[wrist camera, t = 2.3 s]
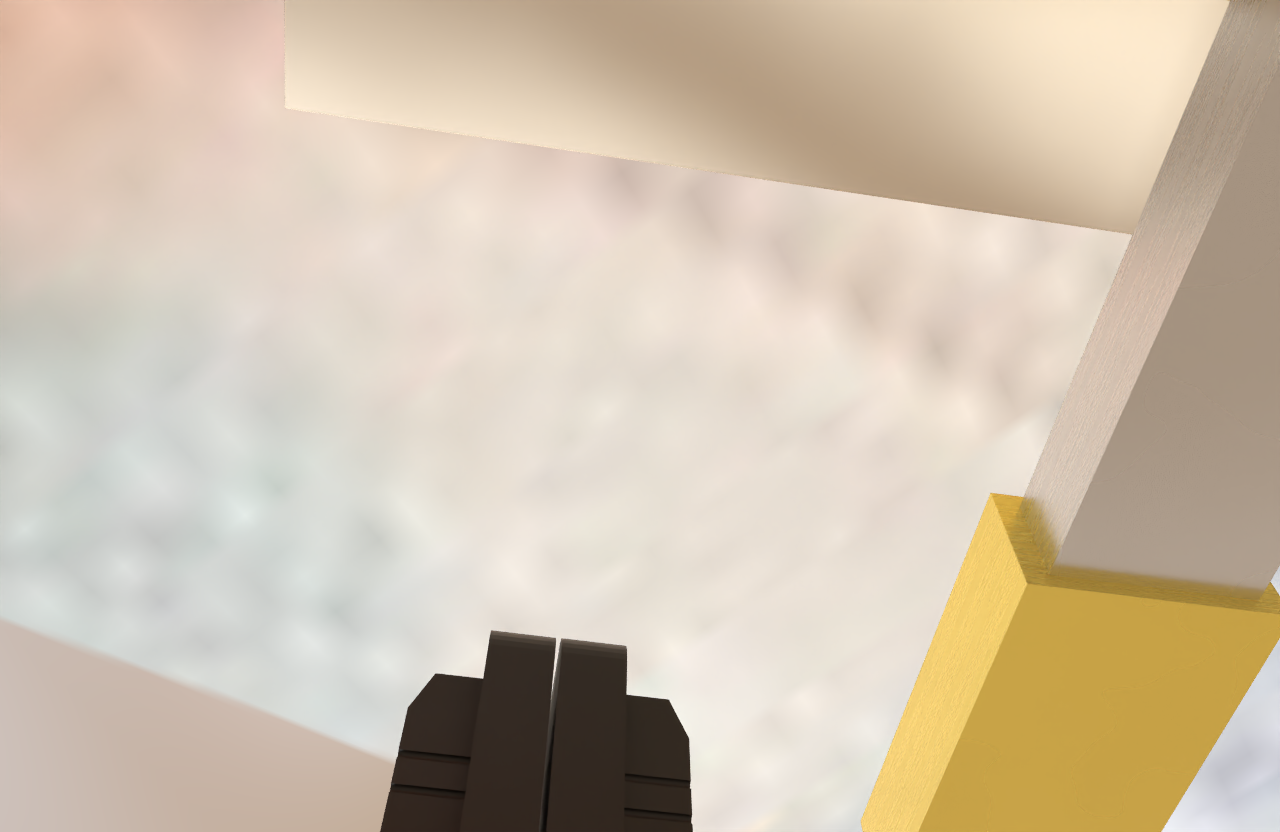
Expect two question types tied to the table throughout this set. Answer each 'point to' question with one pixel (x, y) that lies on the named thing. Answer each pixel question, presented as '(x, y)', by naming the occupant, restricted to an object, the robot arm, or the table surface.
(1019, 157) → the pipe board
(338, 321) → the table surface
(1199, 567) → the valve lever
